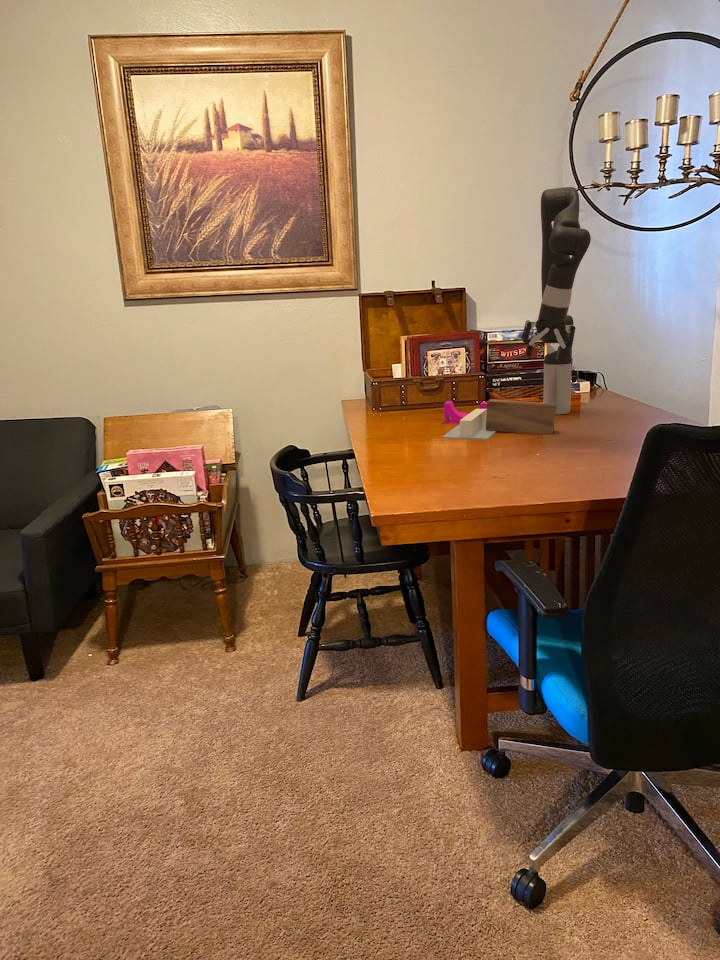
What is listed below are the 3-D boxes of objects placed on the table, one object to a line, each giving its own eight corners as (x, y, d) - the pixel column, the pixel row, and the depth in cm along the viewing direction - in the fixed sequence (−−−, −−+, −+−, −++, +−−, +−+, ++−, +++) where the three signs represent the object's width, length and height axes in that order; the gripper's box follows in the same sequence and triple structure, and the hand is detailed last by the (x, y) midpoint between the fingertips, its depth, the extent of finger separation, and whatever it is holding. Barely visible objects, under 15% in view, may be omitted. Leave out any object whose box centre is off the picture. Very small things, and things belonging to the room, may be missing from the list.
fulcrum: (461, 425, 229) (461, 407, 227) (503, 426, 223) (503, 408, 222) (442, 440, 210) (441, 420, 208) (487, 441, 204) (487, 421, 202)
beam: (489, 427, 218) (490, 399, 216) (553, 432, 211) (556, 403, 208) (485, 430, 214) (487, 401, 212) (551, 436, 207) (553, 406, 204)
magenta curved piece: (492, 422, 232) (492, 400, 230) (488, 426, 227) (488, 403, 225) (449, 421, 238) (448, 400, 236) (444, 425, 232) (443, 403, 230)
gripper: (577, 301, 195) (563, 356, 203) (527, 297, 195) (516, 352, 202) (584, 308, 189) (570, 365, 196) (533, 303, 188) (521, 360, 196)
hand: (543, 358), depth 199 cm, fingers open, 8 cm apart
